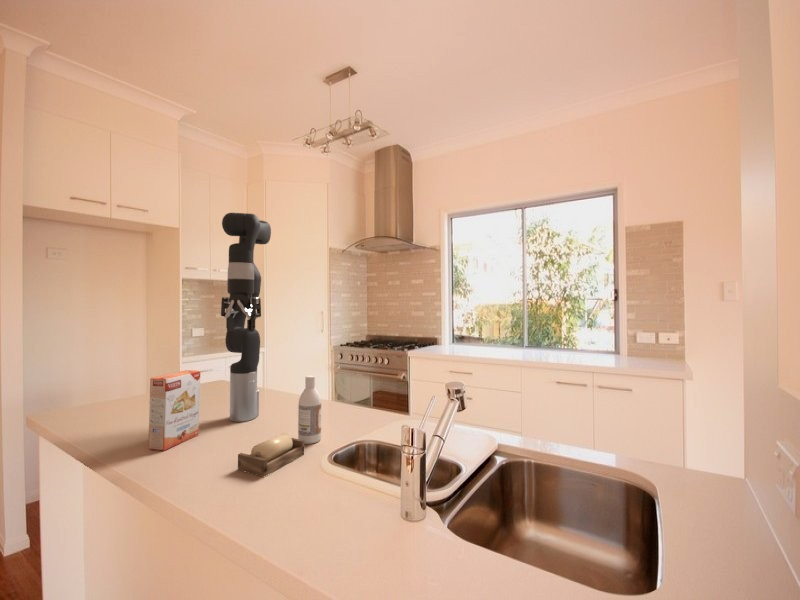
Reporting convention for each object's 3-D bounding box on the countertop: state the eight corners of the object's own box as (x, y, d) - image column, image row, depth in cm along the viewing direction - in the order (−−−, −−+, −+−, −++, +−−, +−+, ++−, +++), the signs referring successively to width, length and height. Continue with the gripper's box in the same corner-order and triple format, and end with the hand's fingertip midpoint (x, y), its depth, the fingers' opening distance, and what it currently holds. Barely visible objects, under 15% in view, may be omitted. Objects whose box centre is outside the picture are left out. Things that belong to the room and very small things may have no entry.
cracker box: (165, 451, 107) (166, 378, 107) (147, 449, 108) (148, 377, 108) (200, 434, 120) (201, 370, 121) (184, 433, 122) (185, 369, 122)
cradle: (279, 449, 109) (279, 435, 109) (304, 454, 105) (304, 440, 105) (237, 469, 96) (237, 454, 96) (264, 477, 92) (264, 460, 92)
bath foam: (318, 444, 113) (319, 378, 113) (295, 444, 113) (296, 378, 113) (322, 436, 120) (323, 374, 120) (301, 436, 120) (301, 374, 120)
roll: (278, 449, 106) (278, 431, 106) (292, 452, 104) (292, 434, 104) (250, 463, 97) (250, 443, 97) (265, 467, 95) (266, 447, 95)
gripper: (267, 278, 115) (267, 331, 115) (234, 279, 121) (233, 329, 121) (248, 277, 108) (247, 333, 108) (214, 278, 114) (213, 331, 114)
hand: (240, 331), depth 114 cm, fingers open, 8 cm apart
